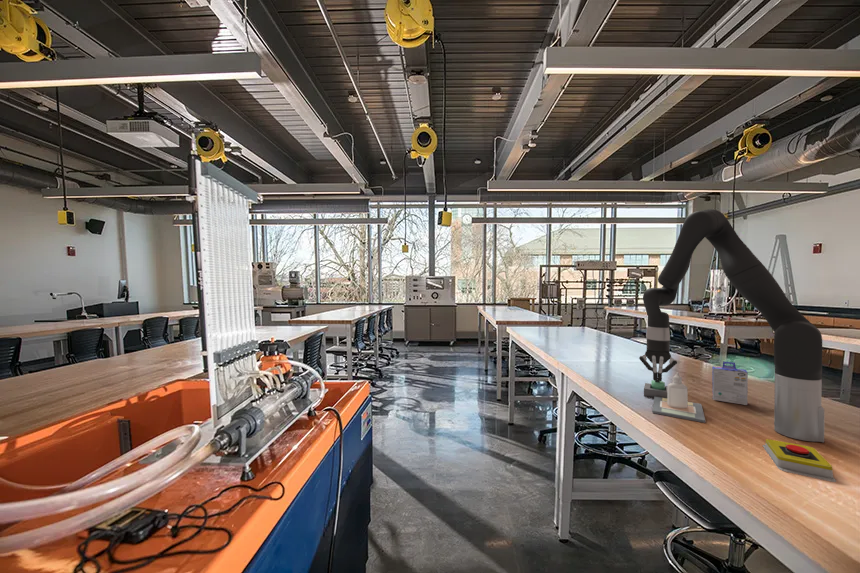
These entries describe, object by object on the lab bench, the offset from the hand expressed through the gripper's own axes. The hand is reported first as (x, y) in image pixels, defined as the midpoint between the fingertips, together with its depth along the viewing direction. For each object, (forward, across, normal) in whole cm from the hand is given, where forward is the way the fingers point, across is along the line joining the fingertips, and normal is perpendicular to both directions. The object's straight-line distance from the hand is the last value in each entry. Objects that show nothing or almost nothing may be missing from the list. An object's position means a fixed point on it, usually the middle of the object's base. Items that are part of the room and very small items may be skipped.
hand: (657, 381), depth 132 cm
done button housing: (+5, 0, 0) cm, 5 cm away
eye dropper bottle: (+5, +6, -14) cm, 16 cm away
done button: (+3, 0, 0) cm, 3 cm away
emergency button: (+6, +29, -40) cm, 50 cm away
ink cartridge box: (+6, +22, +8) cm, 24 cm away
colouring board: (+5, +6, -14) cm, 16 cm away
